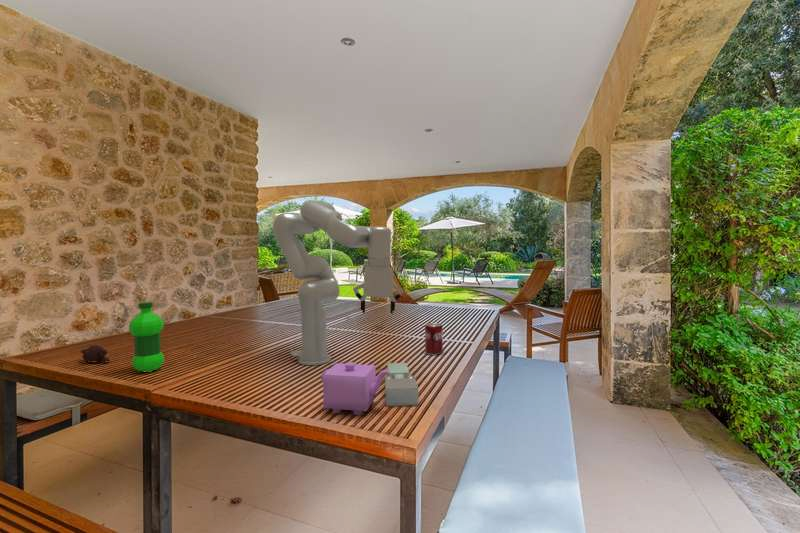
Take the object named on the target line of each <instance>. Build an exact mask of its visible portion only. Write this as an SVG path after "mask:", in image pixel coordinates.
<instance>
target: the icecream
mask: <svg viewBox="0 0 800 533" xmlns="http://www.w3.org/2000/svg"><path fill="white" fill-rule="evenodd" d="M80 353H81V354H83V355H82V356H81V357H82V359H83V361H84V362H86V361H90V362H91V363H93V362H92V361H99V362H102V361H109V360H110V359H109V358H108V357H107V356H106V355H107V354H108V350H106V349H104V348H103V347H102V346H101V345H99V344H95V345H90V346H89V347H88V348H85V349H81V350H80ZM100 360H101V361H100ZM109 362H110V361H109Z"/></svg>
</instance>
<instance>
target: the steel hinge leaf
mask: <svg viewBox="0 0 800 533" xmlns="http://www.w3.org/2000/svg"><path fill="white" fill-rule="evenodd" d="M384 393H385V406H386V407H402V406H403V407H405V406H406V407H409V406H419V387H418V383H417V380H416V377H415V375H411V374H409V375H407V378H399V379H392V376H388V375H384Z"/></svg>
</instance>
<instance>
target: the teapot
mask: <svg viewBox="0 0 800 533" xmlns="http://www.w3.org/2000/svg"><path fill="white" fill-rule="evenodd" d="M388 372H390V370H387V369H385V370H384V369H383V370H381V371H379V373H378V374H377V376H376V364H358V363H356V362H354V361H353V362H351V361H350V362H346V363H337V362H336V363H335V364H333V365H332V367H330V368H327V369H325V370H324V371H323V372H322V373H321V376H320V378H321V382H322V388H323V389H322V390H323V393H322V394H323V395H322V396H323V409H328V410H329V409H332V411H331V413H333V414H340V413H341V412H342V411H343V410H344V411H352V413H353V414H352V415H354V416H360V415H362V414H363V412H367V411H368V409H369V408H370V407H371V404H373V401H374V400H375V398H376V397H377V392H379V390H380V388H381V385H382V382H383V378H384V377H385V376H386V375H387V373H388Z"/></svg>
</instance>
